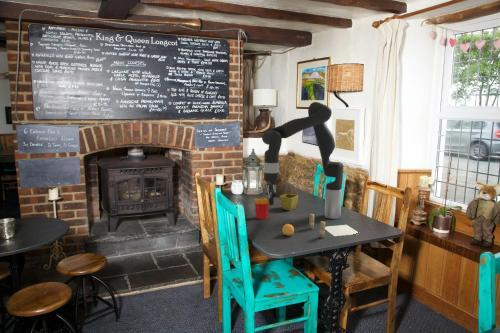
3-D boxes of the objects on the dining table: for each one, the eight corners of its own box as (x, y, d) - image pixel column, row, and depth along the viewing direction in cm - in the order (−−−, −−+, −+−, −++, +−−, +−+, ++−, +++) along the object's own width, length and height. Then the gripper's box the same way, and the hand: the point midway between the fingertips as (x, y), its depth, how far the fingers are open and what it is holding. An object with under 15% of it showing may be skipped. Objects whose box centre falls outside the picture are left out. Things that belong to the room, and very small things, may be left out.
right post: (318, 236, 202) (319, 221, 201) (323, 236, 203) (323, 221, 202) (320, 238, 200) (321, 223, 198) (325, 237, 200) (326, 222, 199)
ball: (280, 233, 206) (280, 222, 205) (291, 232, 207) (291, 222, 206) (284, 237, 200) (284, 226, 199) (295, 236, 202) (295, 225, 201)
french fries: (268, 216, 235) (268, 197, 233) (268, 218, 231) (269, 199, 229) (254, 217, 235) (254, 197, 233) (254, 219, 231) (254, 199, 229)
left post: (308, 228, 215) (308, 214, 214) (312, 227, 216) (313, 213, 214) (310, 229, 213) (310, 215, 211) (314, 229, 213) (315, 215, 212)
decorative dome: (284, 199, 276) (285, 185, 274) (265, 194, 291) (265, 181, 289) (303, 195, 288) (303, 181, 287) (283, 190, 303) (284, 177, 301)
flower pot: (291, 212, 245) (291, 198, 243) (279, 209, 250) (279, 196, 249) (298, 209, 252) (298, 195, 250) (286, 206, 257) (286, 193, 255)
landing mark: (321, 227, 217) (321, 226, 217) (346, 225, 220) (346, 224, 220) (334, 236, 202) (334, 236, 202) (360, 234, 206) (360, 233, 206)
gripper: (283, 173, 190) (282, 207, 193) (274, 168, 203) (273, 201, 206) (268, 173, 188) (267, 209, 191) (260, 169, 201) (260, 202, 204)
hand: (270, 204), depth 198 cm, fingers closed
